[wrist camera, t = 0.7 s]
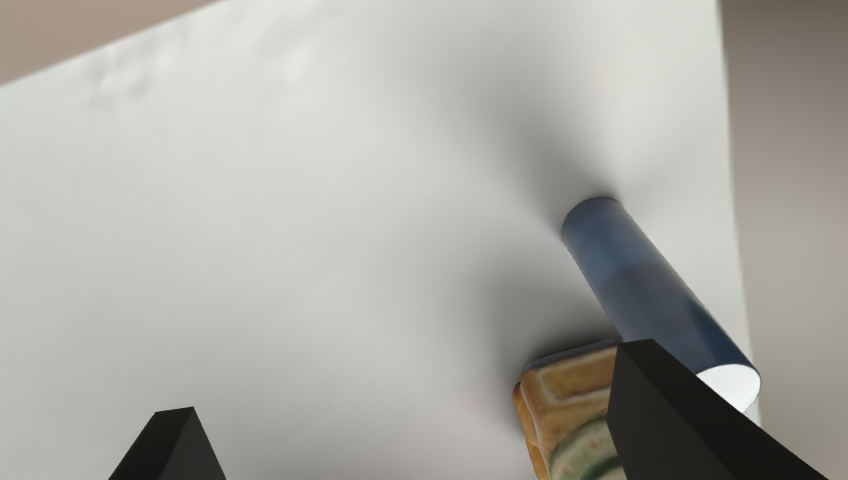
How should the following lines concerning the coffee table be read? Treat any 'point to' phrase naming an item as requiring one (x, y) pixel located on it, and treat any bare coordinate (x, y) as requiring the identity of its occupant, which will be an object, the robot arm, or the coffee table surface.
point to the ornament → (570, 413)
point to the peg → (654, 299)
